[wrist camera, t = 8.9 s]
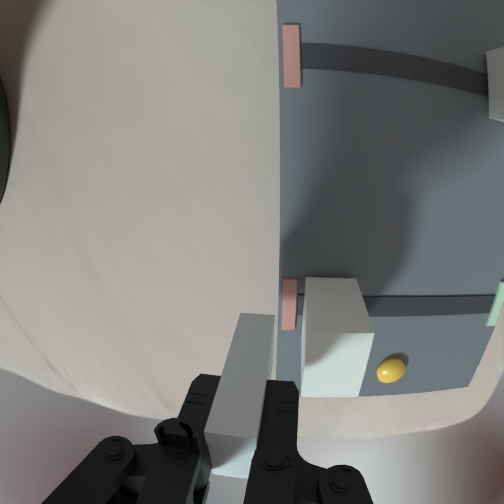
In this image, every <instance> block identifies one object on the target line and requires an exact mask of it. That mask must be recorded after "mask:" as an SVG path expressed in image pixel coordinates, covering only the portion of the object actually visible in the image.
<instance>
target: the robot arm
mask: <svg viewBox="0 0 504 504" xmlns="http://www.w3.org/2000/svg"><path fill="white" fill-rule="evenodd" d="M8 160H9V119H8V110H7V103H6V98H5V94H4V90H3V86H2V84H1V81H0V201H1V198H2V195H3V191H4V187H5V182H6V177H7V170H8ZM274 320H275V315H264V314H249V313H240V317H239V320H238V323H237V326H236V330H235V333H234V336H233V339H232V343H231V346H230V349H229V352H228V356H227V359H226V362H225V365H224V369H223V372H222V375H221V376H216V375H208V374H200V375H199V376H198V377H197V378H196V379H194V380H193V381H192V383H191V385H190V388H189V390H188V394H187V395H186V398H185V402H184V403H183V405H182V408H181V410H180V413H179V415H178V418H171V419H167V420H164V421H162V422H161V423H159V424H158V425H157V426H156V428H155V429H154V432H155V434H156V437H157V439H158V443H155V444H146V445H145V444H143V445H132V443H131V442H130V441H129V440H128V439H126V438H124V437H121V436H111V437H108V438H105V439H103V440H102V441H101V442H99V444H98V445H97V446H96V447H95V448H94V449H93V450H92V451H91V452H90V453H89V454H88V455H87V456H86V457H85V458H84V460H83V461H82V462H81V463H80V464H79V465H78V466H77V467H76V468H75V469H74V470H73V471H72V472H71V473H70V474H69V475H68V477H66V479H65V480H64V481H63V482H62V483H61V484H60V485H59V486H58V487H57V488H56V489H55V490H54V491H53V492H52V493H51V494H50V495H49V496H48V497H47V498H46V500H44V501H43V502H42V504H205V502H206V499H207V495H208V491H209V476H210V472H211V469H212V473H213V474H217V475H223V476H224V475H225V476H231V477H238V478H239V477H240V478H248V482H247V487H246V493H245V498H244V503H243V504H373V501H372V499H371V496H370V494H369V491H368V488H367V486H366V483H365V481H364V478H363V476H362V475H361V473H360V472H359V471H358V470H357V469H355V468H354V467H352V466H348V465H335V466H332V467H330V468H328V469H326V468H322V467H319V466H316V465H313V464H310V463H308V462H307V461H305V460H304V459H303V458H302V457H301V456H300V455H299V453H298V450H297V428H298V405H299V404H298V403H299V390H298V388H297V387H296V385H295V383H294V381H280V380H270V379H271V372H272V364H273V345H274Z"/></svg>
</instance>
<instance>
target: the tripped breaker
mask: <svg viewBox="0 0 504 504" xmlns="http://www.w3.org/2000/svg"><path fill="white" fill-rule="evenodd" d="M373 337H374V330H373V327H372V324H371V321H370V318H369V315H368V312H367V309H366V306H365V303H364V300H363V297H362V294H361V291H360V288H359V285H358V282H357V279H356V278H320V277H306V278H305V294H304V309H303V322H302V335H301V397H358V395H359V392H360V388H361V385H362V381H363V377H364V374H365V370H366V366H367V362H368V358H369V354H370V350H371V346H372V342H373Z"/></svg>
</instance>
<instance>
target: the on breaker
mask: <svg viewBox="0 0 504 504" xmlns="http://www.w3.org/2000/svg"><path fill="white" fill-rule="evenodd" d="M486 58H487V71H488V91H489V118H490V119H493V120H497V121H501V122H504V47H502V48H498V49H494V50H491V51H487V52H486Z"/></svg>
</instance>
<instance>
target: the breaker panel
mask: <svg viewBox="0 0 504 504" xmlns="http://www.w3.org/2000/svg"><path fill="white" fill-rule="evenodd" d="M277 14H278V45H279V88H280V259H279V305H278V339H277V366H276V380H280V381H294V383H295V385H296V387H297V388H298V390H299V396H301V335H302V322H303V309H304V294H305V278H306V277H320V278H356V279H357V282H358V285H359V288H360V291H361V294H362V297H363V300H364V303H365V306H366V309H367V312H368V315H369V318H370V321H371V324H372V327H373V330H374V337H373V342H372V346H371V350H370V354H369V358H368V362H367V366H366V370H365V374H364V377H363V381H362V385H361V388H360V392H359V395H358V396H380V395H397V394H410V393H421V392H430V391H439V390H447V389H455V388H462V387H468V385H469V383H470V381H471V379H472V377H473V375H474V373H475V371H476V369H477V367H478V365H479V363H480V360H481V358H482V356H483V354H484V351H485V349H486V347H487V344H488V342H489V340H490V337H491V335H492V332H493V330H494V327H495V324H496V322H497V319H498V316H499V314H500V311H501V308H502V305H503V302H504V122H501V121H497V120H493V119H490V118H489V91H488V71H487V58H486V52H487V51H491V50H494V49H498V48H502V47H504V0H277Z"/></svg>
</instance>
